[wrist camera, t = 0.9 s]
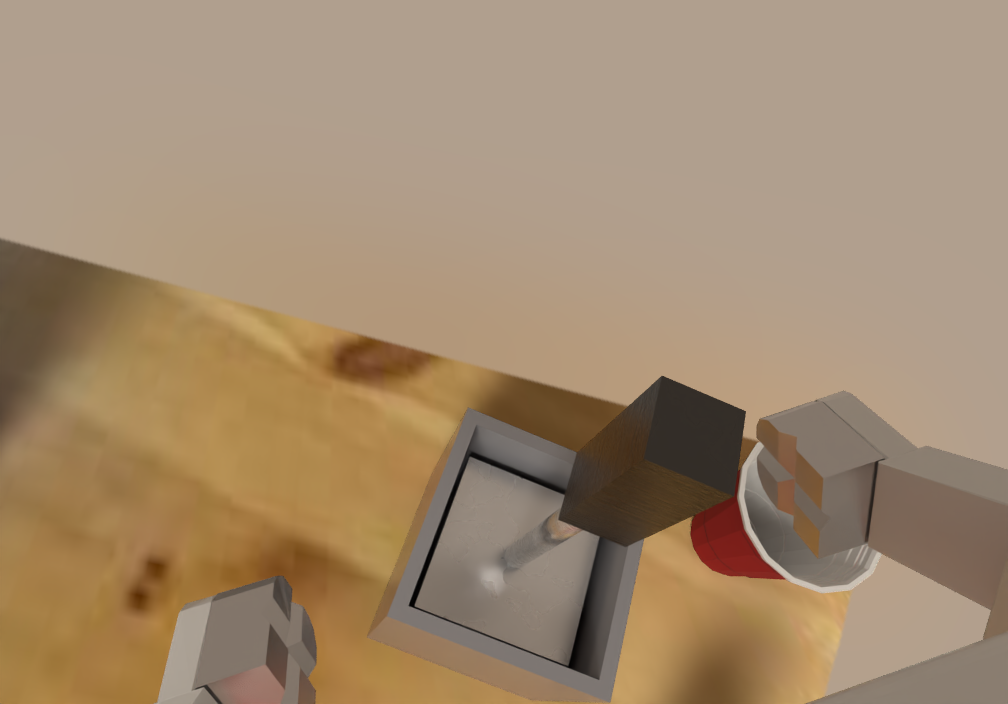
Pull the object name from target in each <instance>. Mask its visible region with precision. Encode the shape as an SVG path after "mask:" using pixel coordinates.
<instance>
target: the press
mask: <svg viewBox="0 0 1008 704" xmlns="http://www.w3.org/2000/svg"><path fill="white" fill-rule="evenodd" d="M576 454H577V452H575V451H572V450H570V449H567V448H565V447H563V446H560V445H558V444H555V443H553V442H550V441H548V440H546V439H543V438H541V437H538V436H536V435H533V434H531V433H529V432H526V431H524V430H521V429H519V428H517V427H514V426H512V425H509V424H507V423H504V422H502V421H500V420H497V419H495V418H492V417H490V416H488V415H485V414H483V413H480V412H478V411H475V410H473V409H471V408H468V409H467V410H466V412H465V414H464V416H463V418H462V420H461V421H460V423H459V425H458V427H457V429H456V431H455V432H454V434H453V436H452V438H451V440H450V442H449V444H448V445H447V447H446V449H445V451H444V453H443V455H442V456H441V458H440V460H439V462H438V464H437V466H436V467H435V469H434V471H433V473H432V475H431V477H430V479H429V482H428V484H427V487H426V489H425V492H424V494H423V497H422V500H421V502H420V505H419V507H418V510H417V512H416V515H415V517H414V520H413V522H412V525H411V527H410V530H409V532H408V535H407V537H406V540H405V542H404V545H403V547H402V550H401V552H400V555H399V557H398V560H397V562H396V565H395V567H394V570H393V572H392V575H391V577H390V580H389V582H388V585H387V587H386V590H385V592H384V595H383V597H382V600H381V603H380V605H379V608H378V610H377V613H376V615H375V618H374V620H373V623H372V625H371V628H370V630H369V633H368V635H367V638H370V639H372V640H375V641H378V642H380V643H383V644H385V645H388V646H391V647H393V648H396V649H398V650H401V651H404V652H406V653H409V654H411V655H414V656H417V657H419V658H422V659H425V660H427V661H430V662H432V663H435V664H438V665H440V666H443V667H445V668H448V669H451V670H453V671H456V672H458V673H461V674H464V675H466V676H469V677H471V678H474V679H477V680H479V681H482V682H484V683H487V684H490V685H492V686H495V687H497V688H500V689H503V690H505V691H508V692H511V693H513V694H516V695H518V696H521V697H524V698H526V699H529V700H538V701H570V702H602V703H610V701H611V697H612V692H613V687H614V682H615V677H616V672H617V667H618V662H619V658H620V653H621V648H622V643H623V638H624V633H625V628H626V624H627V619H628V614H629V609H630V604H631V599H632V594H633V589H634V585H635V580H636V575H637V570H638V565H639V560H640V555H641V551H642V546H643V541H644V539H642V540H640V541H638V542H636V543H634V544H631V545H629V546H627V547H624V546H621V545H619V544H616V543H614V542H611V541H609V540H606V539H604V538H602V537H599V541H598V545H597V550H596V554H595V558H594V562H593V566H592V570H591V574H590V579H589V583H588V587H587V591H586V595H585V599H584V603H583V607H582V612H581V616H580V620H579V624H578V628H577V632H576V636H575V640H574V645H573V649H572V653H571V657H570V661H569V665H568V666H565V667H564V666H562V665H559V664H556V663H554V662H551V661H549V660H546V659H544V658H541V657H538V656H536V655H533V654H531V653H528V652H526V651H523V650H520V649H518V648H515V647H513V646H510V645H508V644H505V643H502V642H500V641H497V640H495V639H492V638H490V637H487V636H484V635H482V634H479V633H477V632H474V631H472V630H469V629H466V628H464V627H461V626H459V625H456V624H454V623H451V622H448V621H446V620H443V619H441V618H438V617H436V616H433V615H430V614H428V613H425V612H423V611H420V610H418V609H415V608H413V605H414V603H415V600H416V597H417V594H418V592H419V589H420V586H421V584H422V581H423V578H424V576H425V573H426V570H427V568H428V565H429V562H430V560H431V557H432V554H433V551H434V549H435V546H436V543H437V541H438V538H439V535H440V533H441V530H442V527H443V525H444V522H445V519H446V517H447V514H448V511H449V508H450V506H451V503H452V500H453V498H454V495H455V492H456V490H457V487H458V484H459V482H460V479H461V476H462V474H463V471H464V468H465V465H466V463H467V460H468V459H469V457H472V458H474V459H477V460H479V461H482V462H484V463H487V464H489V465H492V466H494V467H497V468H499V469H501V470H504V471H506V472H509V473H511V474H514V475H516V476H519V477H521V478H524V479H526V480H528V481H531V482H533V483H536V484H538V485H541V486H543V487H546V488H548V489H551V490H553V491H555V492H558V493H560V494H563V495H565V492H566V489H567V485H568V482H569V478H570V475H571V471H572V467H573V464H574V460H575V457H576Z"/></svg>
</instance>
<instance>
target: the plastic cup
mask: <svg viewBox="0 0 1008 704" xmlns="http://www.w3.org/2000/svg"><path fill="white" fill-rule="evenodd" d="M763 447H764V445H763V444H762V443H761V442H758V443H757V444H756V445H755V446H754V448H753V450H752V451H751V453H750V454H749V456H748V458H747V459H746V461H745V462H744V464H743V466H742V467H741V469H740V470H739V471H738V472H737V480H736V487H735V494H734V497H732V498H730V499H728V500H726V501H724V502H721V503H719V504H717V505H715V506H713V507H711V508H709V509H706V510H704V511H702V512H700V513H698V514H696V516H695V517H694V519H693V521H692V526H691V539H692V543H693V547H694V549H695V551H696V553H697V554H698V556H699V558H700V559H701V561H702V562H703V563H705V564H706V565H707V566H708V567H709V568H710V569H712V570H713V571H716V572H719V573H722V574H724V575H728V576H746V577H749V578H766V579H785V580H788V581H789V582H791V583H794V584H797V585H800V586H803V587H806V588H809V589H811V590H814V591H817V592H820V593H829V592H838V591H847V590H851V589H853V588H854V587H855V586H857V585H858V584H860V583H861V582H862V581H864V580H865V579H866V578H868V577H869V576H870V575H872V574H873V572H874V569H875V567H876V565H877V563H878V561H879V559H880V557H881V555H882V554H881V553H879V552H877V551H875V550H874V549H872V548H870V547H868V544H865V545H862V546H858V547H855V548H852V549H849V550H846V551H842V552H839V553H836V554H833V555H830V556H826V557H823V558H820V559H817V557H816V556H815V555H814V554H813V552H812V551H811V550H810V549H809V548H808V546H807V545H806V544H805V543H804V541H803V540H802V539H801V538H800V537H799V535H798V534H797V533H796V532H795V530H794V529H793V519H794V516H792V515H790V514H788V513H785V512H783V511H780V510H778V509H777V508H776V507H775V506H774V504H773V503H772V502H771V500H770V499H769V498H768V496H767V494H766V492H765V491H764V489H763V487H762V484H761V481H760V478H759V475H758V472H757V456H758V454H759V453H760V451H761V450H762V448H763Z"/></svg>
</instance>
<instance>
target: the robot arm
mask: <svg viewBox="0 0 1008 704" xmlns="http://www.w3.org/2000/svg"><path fill="white" fill-rule="evenodd" d="M757 438H758V440H759V441H760V442H761V443H762V444H763V445H764V447H763V448H762V450H761V451H760V453H759V454H758V456H757V472H758V475H759V478H760V481H761V484H762V487H763V489H764V491H765V492H766V494H767V496H768V498H769V499H770V500H771V502H772V503H773V504H774V506H775V507H776V508H777V509H778V510H780V511H783V512H785V513H788V514H790V515H792V516H794V519H793V529H794V530H795V532H796V533H797V534H798V535H799V537H800V538H801V539H802V540H803V541H804V543H805V544H806V545H807V546H808V548H809V549H810V550H811V551H812V552H813V554H814V555H815V556H816V557H817V559H820V558H823V557H826V556H830V555H833V554H836V553H839V552H842V551H846V550H849V549H852V548H855V547H858V546H862V545H865V544H868V547H870V548H872V549H874V550H875V551H877V552H879V553H881V554H883V555H885V556H888V557H889V558H891V559H893V560H895V561H897V562H899V563H901V564H903V565H905V566H907V567H908V568H910V569H912V570H914V571H916V572H918V573H920V574H922V575H924V576H926V577H928V578H930V579H932V580H934V581H936V582H937V583H939V584H941V585H943V586H945V587H947V588H949V589H951V590H953V591H955V592H957V593H959V594H961V595H963V596H965V597H967V598H968V599H970V600H972V601H975V602H976V603H978V604H980V605H982V606H984V607H986V608H988V609H990V610H991V612H990V616H989V619H988V622H987V626H986V629H985V633H984V636H983V640H981V641H979V642H976V643H973V644H970V645H968V646H965V647H962V648H959V649H956V650H954V651H951V652H948V653H945V654H942V655H940V656H937V657H934V658H931V659H929V660H926V661H923V662H920V663H917V664H915V665H912V666H909V667H906V668H904V669H901V670H898V671H895V672H893V673H890V674H887V675H884V676H881V677H878V678H876V679H873V680H871V681H867V682H864V683H862V684H859V685H856V686H853V687H851V688H848V689H845V690H842V691H839V692H837V693H834V694H831V695H828V696H825V697H823V698H820V699H817V700H814V701H811V702H809V703H806V704H1008V470H1007V469H1004V468H1000V467H997V466H993V465H990V464H987V463H983V462H980V461H977V460H973V459H970V458H966V457H962V456H959V455H956V454H952V453H949V452H946V451H942V450H939V449H935V448H932V447H929V446H925V447H921V448H917V447H916V446H915V445H913V444H912V443H911V442H910V441H908V440H907V439H906V438H905V437H904V436H902V435H901V434H900V433H899V432H897V431H896V430H895V429H894V428H892V427H891V426H890V425H889V424H888V423H887V422H885V421H884V420H883V419H882V418H881V417H879V416H878V415H877V414H876V413H875V412H873V411H872V410H871V409H870V408H868V407H867V406H866V405H865V404H864V403H862V402H861V401H860V400H859V399H858V398H856V397H855V396H854V395H853V394H851V393H849V392H846V391H842V392H838V393H836V394H833V395H830V396H827V397H824V398H821V399H818V400H816V401H814V402H809V403H806V404H803V405H800V406H797V407H794V408H791V409H788V410H785V411H782V412H779V413H776V414H773V415H770V416H767V417H764V418H761V419H759V422H758V424H757ZM291 600H292V588H291V586H290V585H289V584H288V582H287V581H286V579H285V578H284V576H275V577H272V578H269V579H265V580H262V581H259V582H255V583H252V584H249V585H245V586H242V587H239V588H235V589H232V590H229V591H225V592H222V593H218V594H217V595H214V596H211V597H207V598H204V599H201V600H197V601H194V602H190V603H187V604H185V606H184V607H183V608H182V610H181V611H180V613H179V615H178V619H177V623H176V627H175V631H174V635H173V639H172V644H171V648H170V652H169V656H168V660H167V664H166V668H165V672H164V676H163V680H162V684H161V688H160V693H159V697H158V701H157V703H154V704H315V695H316V690H315V689H314V687H313V686H312V684H311V683H310V681H309V680H308V677H309V675H310V674H311V672H312V670H313V669H314V667H315V666H316V649H317V647H316V641H315V635H314V629H313V626H312V624H311V621H310V618H309V616H308V614H307V612H306V611H305V609H304V607H303V606H301V605H298V604H296V603H293V602H291Z"/></svg>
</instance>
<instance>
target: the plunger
mask: <svg viewBox="0 0 1008 704" xmlns="http://www.w3.org/2000/svg"><path fill="white" fill-rule="evenodd" d="M745 414H746V411H744V410H742V409H739V408H737V407H734V406H732V405H730V404H727V403H725V402H723V401H720V400H718V399H716V398H713V397H711V396H709V395H706V394H704V393H701V392H699V391H697V390H695V389H692V388H690V387H687V386H685V385H683V384H680V383H678V382H676V381H673V380H671V379H669V378H666V377H664V376H661V377H660V378H659V379H658V380H657V381H656V382H655V383H654V384H652V385H651V386H650V387H649V388H648V389H647V390H646V391H645V392H644V393H643V394H641V395H640V396H639V397H638V398H637V399H636V400H635V401H634V402H633V403H632V404H630V405H629V406H628V407H627V408H626V409H625V410H624V411H623V412H622V413H621V414H619V415H618V416H617V417H616V418H615V419H614V420H613V421H612V422H611V423H610V424H608V425H607V426H606V427H605V428H604V429H603V430H602V431H601V432H600V433H599V434H597V435H596V436H595V437H594V438H593V439H592V440H591V441H590V442H589V443H588V444H586V445H585V446H584V447H583V448H582V449H581V450H580V451H579V452H578V453H577V454H576V457H575V460H574V464H573V467H572V471H571V475H570V478H569V482H568V485H567V489H566V492H565V495H563V494H560V493H558V492H555V491H553V490H551V489H548V488H546V487H543V486H541V485H538V484H536V483H533V482H531V481H528V480H526V479H524V478H521V477H519V476H516V475H514V474H511V473H509V472H506V471H504V470H501V469H499V468H497V467H494V466H492V465H489V464H487V463H484V462H482V461H479V460H477V459H474V458H472V457H469V459H468V460H467V463H466V465H465V468H464V471H463V474H462V476H461V479H460V482H459V484H458V487H457V490H456V492H455V495H454V498H453V500H452V503H451V506H450V508H449V511H448V514H447V517H446V519H445V522H444V525H443V527H442V530H441V533H440V535H439V538H438V541H437V543H436V546H435V549H434V551H433V554H432V557H431V560H430V562H429V565H428V568H427V570H426V573H425V576H424V578H423V581H422V584H421V586H420V589H419V592H418V594H417V597H416V600H415V603H414V605H413V608H415V609H418V610H420V611H423V612H425V613H428V614H430V615H433V616H436V617H438V618H441V619H443V620H446V621H448V622H451V623H454V624H456V625H459V626H461V627H464V628H466V629H469V630H472V631H474V632H477V633H479V634H482V635H484V636H487V637H490V638H492V639H495V640H497V641H500V642H502V643H505V644H508V645H510V646H513V647H515V648H518V649H520V650H523V651H526V652H528V653H531V654H533V655H536V656H538V657H541V658H544V659H546V660H549V661H551V662H554V663H556V664H559V665H562V666H564V667H565V666H568V665H569V661H570V657H571V653H572V649H573V645H574V640H575V636H576V632H577V628H578V624H579V620H580V616H581V612H582V607H583V603H584V599H585V595H586V591H587V587H588V583H589V579H590V574H591V570H592V566H593V562H594V558H595V554H596V550H597V545H598V541H599V537H602V538H604V539H606V540H609V541H611V542H614V543H616V544H619V545H621V546H624V547H627V546H629V545H631V544H634V543H636V542H638V541H640V540H642V539H644V538H646V537H649V536H651V535H653V534H655V533H657V532H659V531H661V530H664V529H666V528H668V527H670V526H672V525H674V524H676V523H679V522H681V521H683V520H685V519H687V518H689V517H691V516H694V515H696V514H698V513H700V512H702V511H704V510H706V509H709V508H711V507H713V506H715V505H717V504H719V503H721V502H724V501H726V500H728V499H730V498H732V497H734V494H735V487H736V480H737V472H738V465H739V458H740V451H741V443H742V436H743V429H744V421H745Z"/></svg>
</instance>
